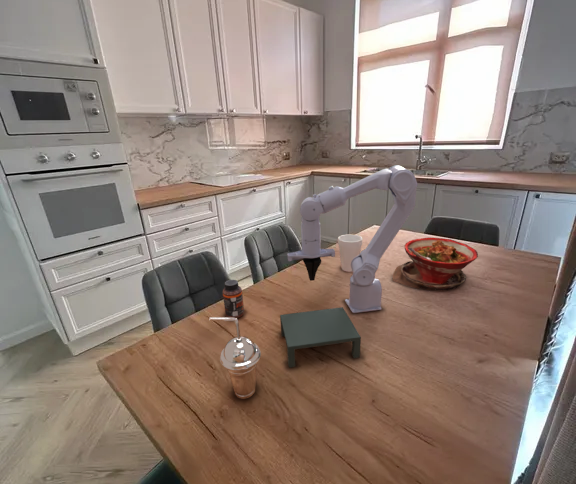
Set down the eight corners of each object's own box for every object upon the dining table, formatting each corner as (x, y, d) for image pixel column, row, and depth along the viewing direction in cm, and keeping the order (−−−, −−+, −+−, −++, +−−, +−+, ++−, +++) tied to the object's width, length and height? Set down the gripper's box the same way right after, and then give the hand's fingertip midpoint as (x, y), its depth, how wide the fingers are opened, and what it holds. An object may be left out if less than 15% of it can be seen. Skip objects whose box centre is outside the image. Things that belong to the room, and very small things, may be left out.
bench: (342, 325, 91) (342, 306, 88) (359, 357, 78) (361, 336, 75) (281, 333, 88) (280, 314, 86) (288, 367, 76) (287, 347, 73)
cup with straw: (255, 410, 65) (246, 330, 57) (216, 401, 67) (202, 323, 59) (269, 380, 72) (263, 305, 64) (234, 373, 75) (223, 300, 67)
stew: (423, 302, 100) (429, 256, 94) (379, 273, 121) (382, 234, 115) (489, 286, 108) (499, 242, 102) (437, 261, 129) (442, 224, 123)
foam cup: (364, 266, 128) (366, 236, 123) (356, 275, 120) (357, 243, 115) (342, 262, 132) (343, 233, 127) (333, 270, 125) (334, 240, 120)
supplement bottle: (240, 320, 95) (236, 287, 91) (222, 318, 97) (217, 286, 92) (247, 309, 101) (243, 278, 96) (229, 308, 102) (225, 277, 98)
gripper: (330, 232, 98) (330, 271, 103) (285, 236, 96) (287, 276, 101) (337, 239, 91) (336, 280, 96) (288, 244, 89) (290, 286, 94)
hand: (311, 279), depth 98 cm, fingers closed
